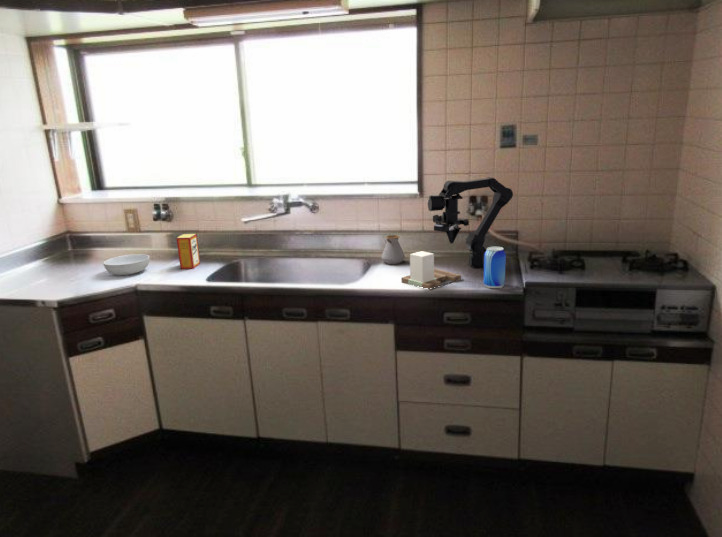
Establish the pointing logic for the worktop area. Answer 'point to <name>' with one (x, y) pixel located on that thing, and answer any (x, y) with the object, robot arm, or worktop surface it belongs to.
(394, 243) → the coffee pot
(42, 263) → the worktop surface
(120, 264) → the serving bowl
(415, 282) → the green pad
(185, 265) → the baking soda box
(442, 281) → the walnut trap board
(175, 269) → the worktop surface
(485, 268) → the beer can
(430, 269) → the cream block
